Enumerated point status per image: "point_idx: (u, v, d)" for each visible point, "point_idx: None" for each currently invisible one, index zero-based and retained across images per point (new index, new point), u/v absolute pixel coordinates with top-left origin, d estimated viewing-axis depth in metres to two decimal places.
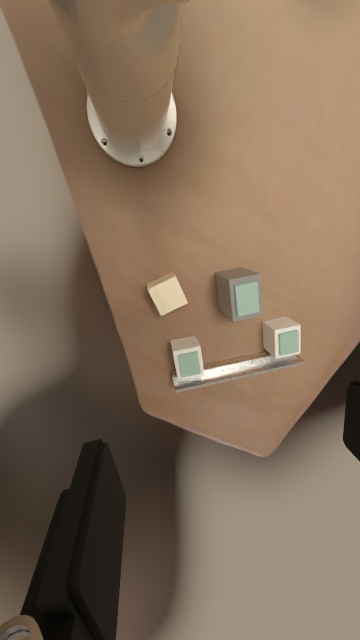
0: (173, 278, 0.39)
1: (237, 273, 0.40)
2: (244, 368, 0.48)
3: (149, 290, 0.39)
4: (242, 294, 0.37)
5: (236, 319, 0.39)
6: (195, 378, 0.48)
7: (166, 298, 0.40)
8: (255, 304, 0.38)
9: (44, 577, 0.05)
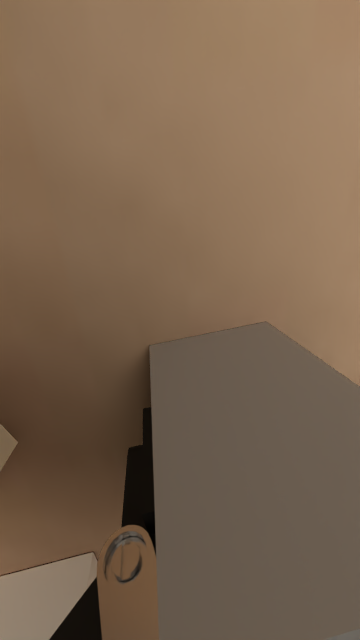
0: None
1: (260, 404, 0.06)
2: None
3: None
4: None
5: None
6: None
7: None
8: None
9: (142, 499, 0.06)
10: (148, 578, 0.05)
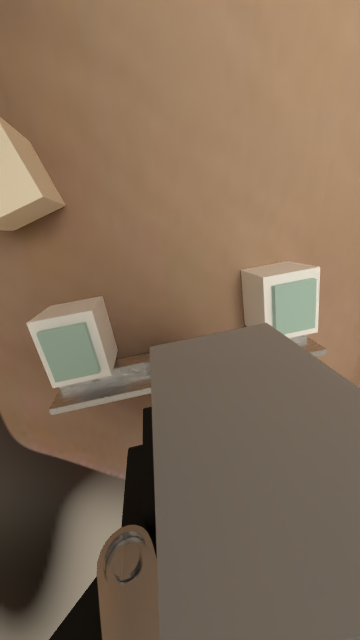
0: None
1: (260, 406, 0.06)
2: None
3: None
4: None
5: None
6: (104, 383, 0.24)
7: None
8: None
9: (143, 498, 0.06)
10: (148, 578, 0.05)
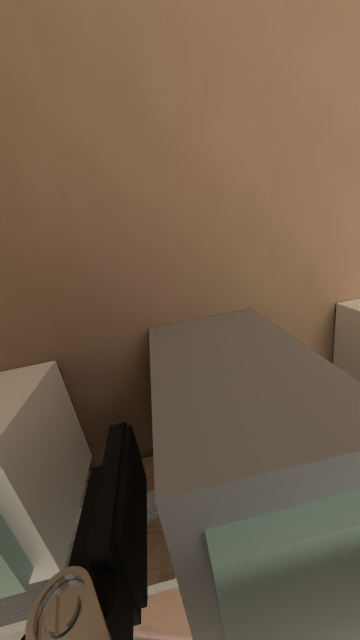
0: None
1: (235, 364, 0.07)
2: None
3: None
4: (275, 600, 0.04)
5: None
6: None
7: None
8: None
9: (90, 535, 0.05)
10: (88, 623, 0.04)
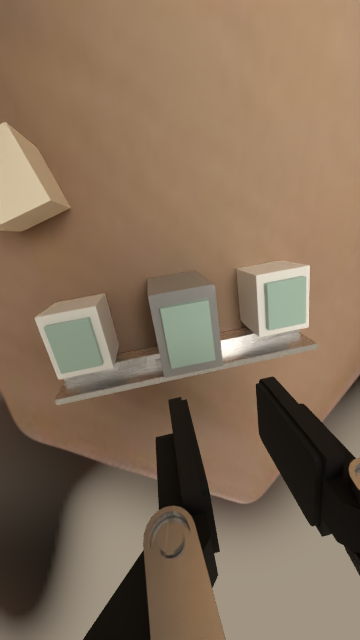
0: (1, 128, 0.16)
1: (177, 281, 0.21)
2: None
3: None
4: (177, 326, 0.18)
5: (170, 373, 0.20)
6: (106, 376, 0.25)
7: None
8: (206, 345, 0.19)
9: (180, 482, 0.06)
10: (191, 559, 0.05)
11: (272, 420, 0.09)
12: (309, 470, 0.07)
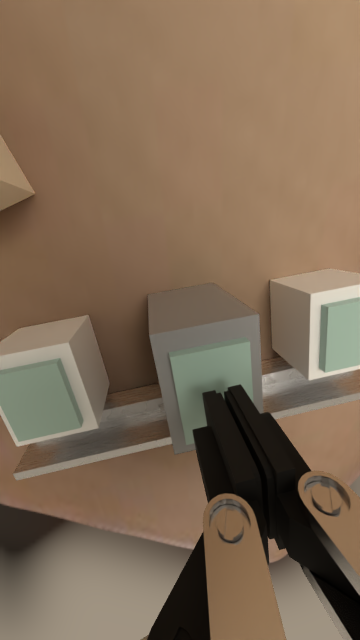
0: None
1: (193, 303, 0.14)
2: None
3: None
4: (197, 382, 0.11)
5: (184, 447, 0.13)
6: (90, 430, 0.18)
7: None
8: None
9: (232, 470, 0.06)
10: (251, 550, 0.05)
11: None
12: (263, 483, 0.07)
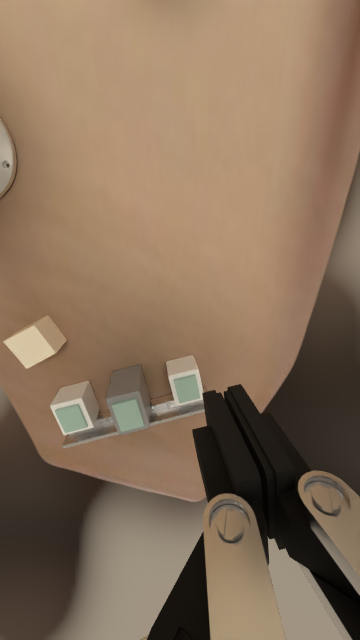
0: (32, 327, 0.34)
1: (125, 381, 0.39)
2: None
3: (6, 342, 0.34)
4: (121, 412, 0.36)
5: (122, 433, 0.38)
6: (91, 428, 0.43)
7: (28, 350, 0.35)
8: (138, 419, 0.37)
9: (232, 470, 0.06)
10: (251, 550, 0.05)
11: None
12: (263, 483, 0.07)
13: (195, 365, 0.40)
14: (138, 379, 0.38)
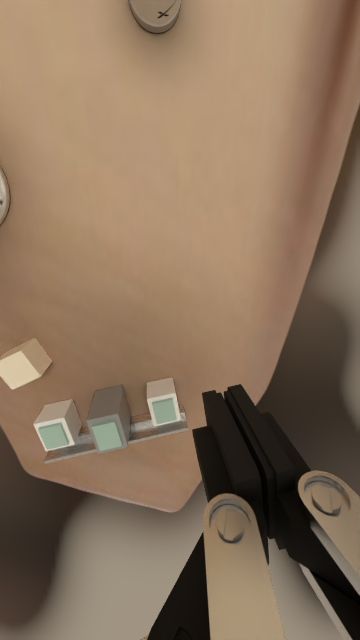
0: (18, 353, 0.36)
1: (106, 403, 0.41)
2: None
3: None
4: (100, 433, 0.38)
5: (101, 451, 0.40)
6: None
7: (14, 373, 0.37)
8: (116, 440, 0.39)
9: (232, 470, 0.06)
10: (251, 550, 0.05)
11: None
12: (263, 483, 0.07)
13: (173, 389, 0.43)
14: (118, 401, 0.41)
